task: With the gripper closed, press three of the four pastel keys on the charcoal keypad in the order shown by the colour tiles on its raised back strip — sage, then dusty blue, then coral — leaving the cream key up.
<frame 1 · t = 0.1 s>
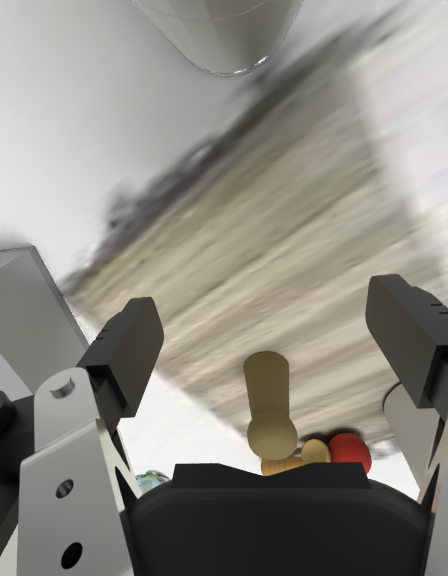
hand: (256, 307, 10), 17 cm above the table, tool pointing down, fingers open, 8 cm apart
keypad: (31, 338, 36), on the table
pacifier: (154, 477, 56), on the table
olive ball-ended cylinder: (265, 366, 37), on the table
cylinder vase: (429, 397, 38), on the table
kendama: (309, 445, 47), on the table
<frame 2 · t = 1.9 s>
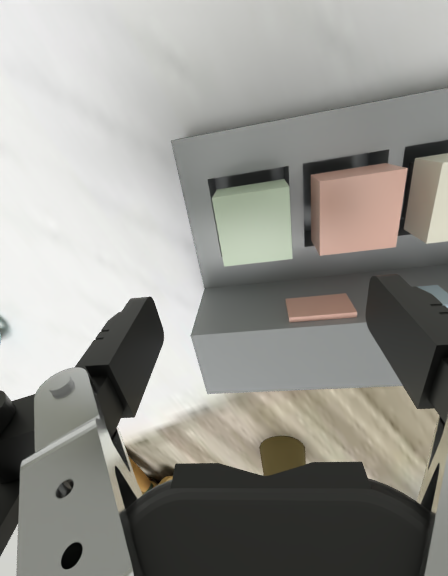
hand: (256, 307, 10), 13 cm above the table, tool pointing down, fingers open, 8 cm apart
keypad: (363, 218, 21), on the table
key coral: (348, 207, 16), point 5 cm above the table, slide at 0.0 cm
olive ball-ended cylinder: (281, 448, 37), on the table
key sage: (253, 220, 17), point 5 cm above the table, slide at 0.0 cm
kendama: (154, 468, 43), on the table
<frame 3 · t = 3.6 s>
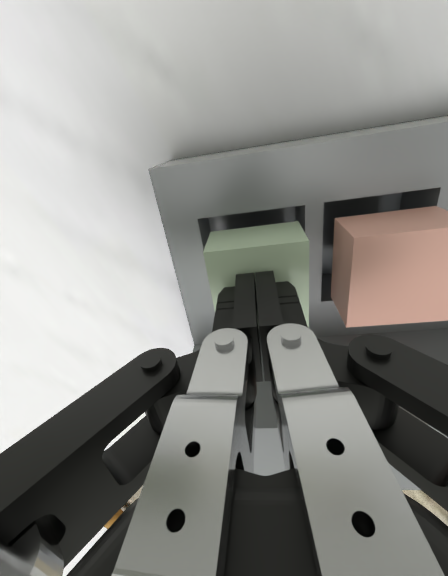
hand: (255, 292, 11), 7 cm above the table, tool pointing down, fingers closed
keypad: (389, 259, 17), on the table
key coral: (383, 261, 12), point 5 cm above the table, slide at 0.0 cm
key sage: (257, 271, 13), point 5 cm above the table, slide at 0.2 cm, touching gripper
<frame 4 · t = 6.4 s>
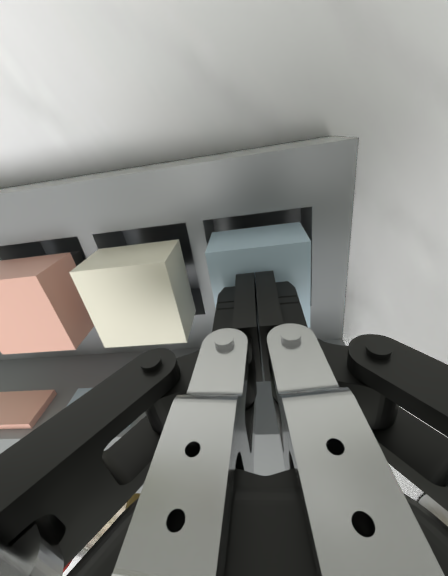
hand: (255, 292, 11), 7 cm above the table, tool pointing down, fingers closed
key blue: (259, 272, 13), point 5 cm above the table, slide at 0.5 cm, touching gripper
keypad: (142, 285, 19), on the table
key coral: (44, 297, 14), point 5 cm above the table, slide at 0.0 cm
key cream: (145, 287, 13), point 5 cm above the table, slide at 0.0 cm
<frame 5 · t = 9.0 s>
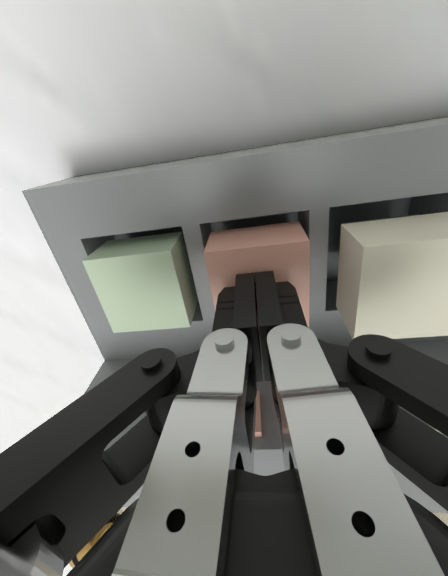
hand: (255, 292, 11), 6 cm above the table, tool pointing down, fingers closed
keypad: (303, 274, 17), on the table
key coral: (258, 271, 13), point 4 cm above the table, slide at 1.1 cm, touching gripper
key cream: (393, 270, 11), point 5 cm above the table, slide at 0.0 cm
key sage: (151, 276, 14), point 3 cm above the table, slide at 1.7 cm
kendama: (96, 512, 38), on the table
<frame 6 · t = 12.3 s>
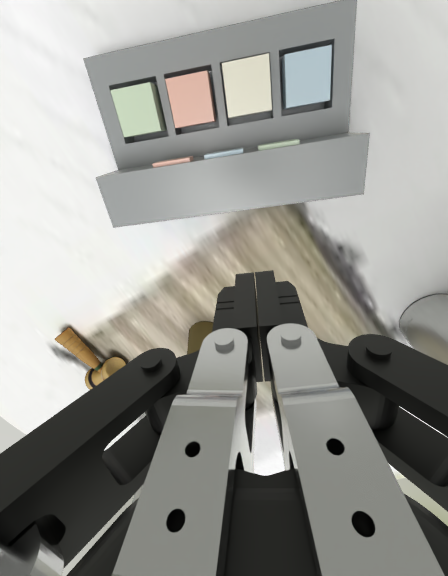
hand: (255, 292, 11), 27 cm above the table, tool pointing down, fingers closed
key blue: (304, 81, 26), point 3 cm above the table, slide at 1.7 cm
keypad: (225, 126, 32), on the table
key coral: (193, 102, 28), point 3 cm above the table, slide at 1.7 cm
olive ball-ended cylinder: (206, 334, 48), on the table
key cream: (247, 89, 26), point 5 cm above the table, slide at 0.0 cm
key sage: (142, 112, 29), point 3 cm above the table, slide at 1.7 cm
kendama: (105, 356, 53), on the table
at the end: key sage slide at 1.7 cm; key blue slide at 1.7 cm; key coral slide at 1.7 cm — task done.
